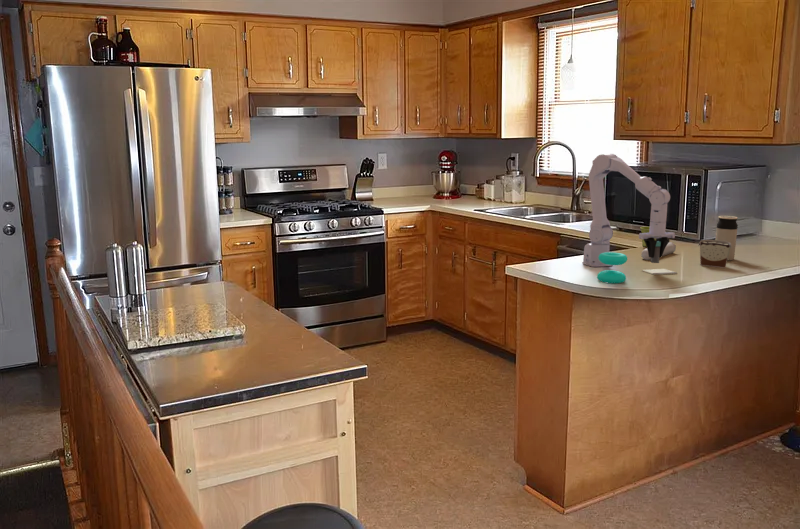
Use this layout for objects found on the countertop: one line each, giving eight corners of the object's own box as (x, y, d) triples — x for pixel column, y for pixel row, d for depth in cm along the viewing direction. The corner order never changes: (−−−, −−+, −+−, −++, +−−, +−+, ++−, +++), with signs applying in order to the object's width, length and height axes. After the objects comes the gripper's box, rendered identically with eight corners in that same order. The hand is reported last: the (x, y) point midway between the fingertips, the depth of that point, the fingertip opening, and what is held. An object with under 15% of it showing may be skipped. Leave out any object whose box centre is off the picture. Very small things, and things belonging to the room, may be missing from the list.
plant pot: (657, 245, 337) (659, 227, 335) (662, 248, 328) (663, 229, 326) (637, 244, 338) (638, 226, 337) (640, 247, 329) (642, 229, 327)
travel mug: (735, 261, 299) (739, 218, 296) (714, 259, 302) (718, 217, 298) (732, 257, 307) (737, 216, 303) (712, 256, 309) (716, 215, 306)
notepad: (654, 275, 269) (654, 273, 269) (641, 270, 277) (642, 269, 277) (677, 273, 272) (677, 272, 272) (664, 269, 280) (664, 268, 280)
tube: (653, 252, 296) (677, 244, 314) (641, 246, 300) (667, 239, 317) (648, 263, 299) (673, 255, 316) (637, 258, 302) (662, 250, 319)
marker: (653, 263, 271) (655, 242, 269) (648, 261, 274) (650, 241, 272) (661, 262, 272) (662, 242, 270) (655, 261, 275) (657, 240, 273)
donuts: (600, 250, 263) (628, 252, 259) (598, 277, 265) (626, 279, 261) (597, 255, 253) (626, 257, 250) (595, 282, 255) (624, 285, 252)
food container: (731, 265, 290) (733, 241, 288) (729, 268, 284) (732, 243, 282) (698, 262, 296) (701, 238, 294) (696, 264, 290) (698, 240, 288)
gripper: (647, 223, 264) (644, 259, 267) (681, 222, 268) (678, 258, 271) (636, 221, 271) (633, 256, 273) (669, 220, 275) (666, 254, 277)
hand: (655, 257), depth 273 cm, fingers closed on marker, 3 cm apart
